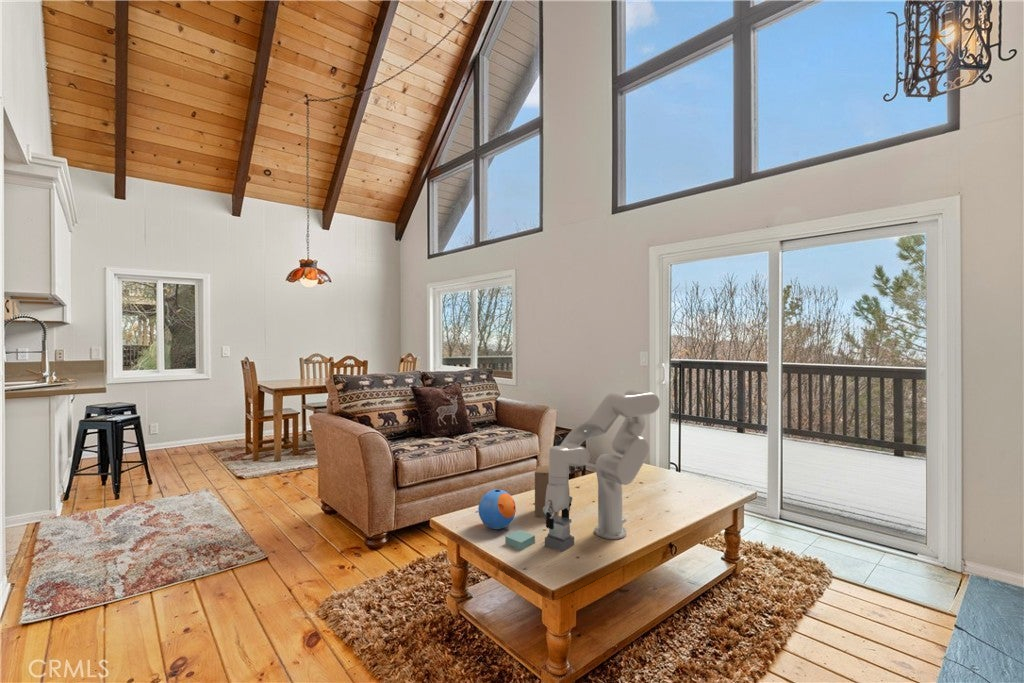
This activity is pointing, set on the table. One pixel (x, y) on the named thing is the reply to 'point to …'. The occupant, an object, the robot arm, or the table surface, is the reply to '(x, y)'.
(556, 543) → the stand
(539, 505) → the wooden block
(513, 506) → the treat dispenser ball
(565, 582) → the table surface
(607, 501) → the robot arm
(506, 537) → the stand
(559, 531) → the housing
